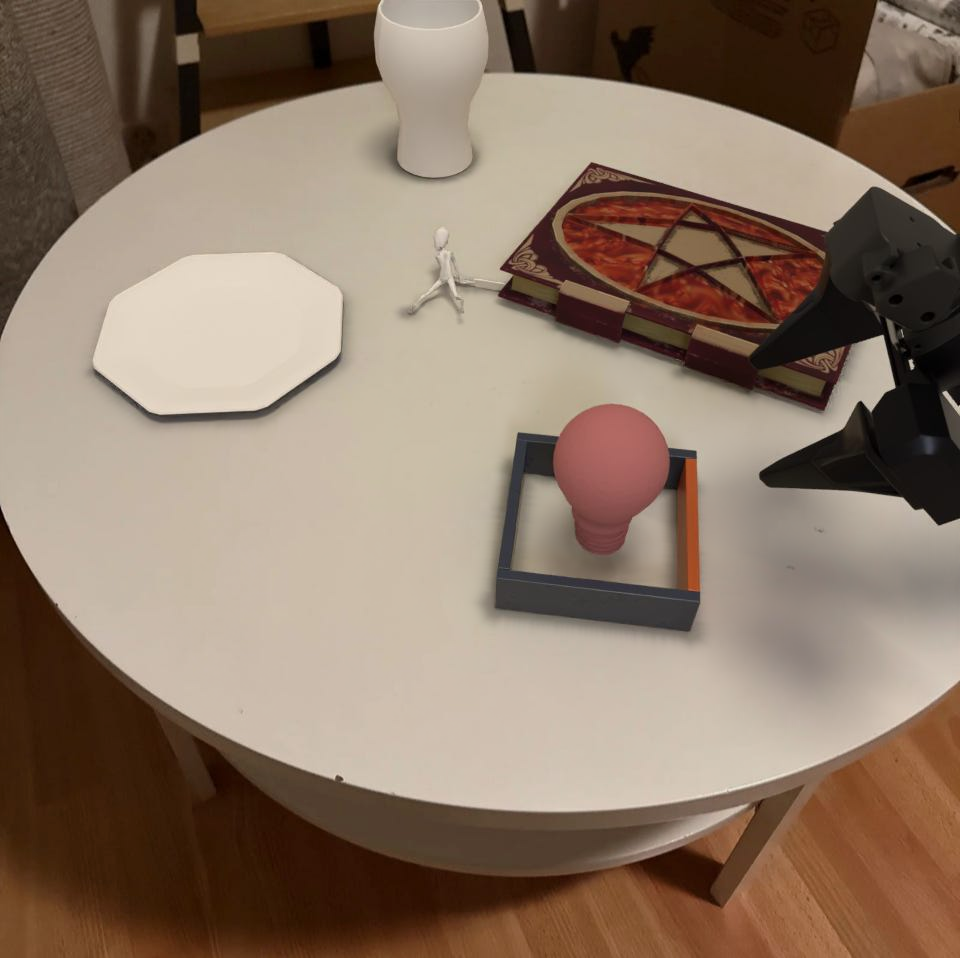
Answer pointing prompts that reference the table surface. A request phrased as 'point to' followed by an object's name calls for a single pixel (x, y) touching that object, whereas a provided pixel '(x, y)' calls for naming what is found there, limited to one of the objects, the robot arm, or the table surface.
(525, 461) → the square frame
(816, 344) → the robot arm
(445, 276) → the action figure
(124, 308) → the plate
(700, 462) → the table surface
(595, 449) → the pink screw bulb
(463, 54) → the cup
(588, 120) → the table surface
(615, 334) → the book
